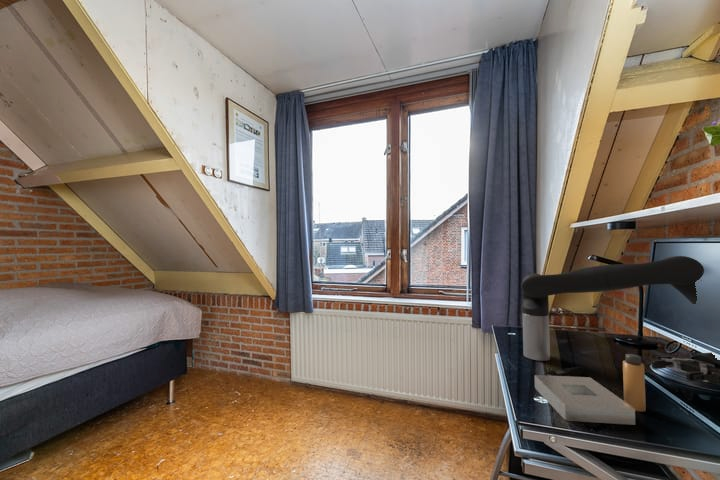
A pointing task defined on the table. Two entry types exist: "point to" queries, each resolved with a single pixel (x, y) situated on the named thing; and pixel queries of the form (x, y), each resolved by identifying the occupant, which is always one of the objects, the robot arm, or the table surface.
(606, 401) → the grey square-holed plate
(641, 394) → the plug
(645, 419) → the table surface
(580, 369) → the electric trimmer
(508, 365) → the table surface
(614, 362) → the table surface
